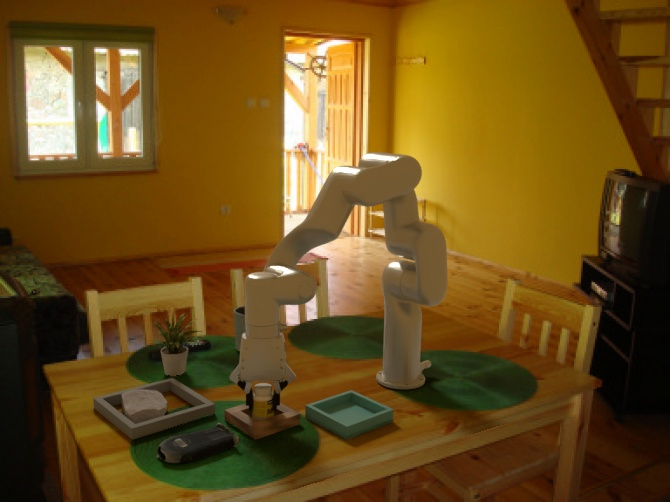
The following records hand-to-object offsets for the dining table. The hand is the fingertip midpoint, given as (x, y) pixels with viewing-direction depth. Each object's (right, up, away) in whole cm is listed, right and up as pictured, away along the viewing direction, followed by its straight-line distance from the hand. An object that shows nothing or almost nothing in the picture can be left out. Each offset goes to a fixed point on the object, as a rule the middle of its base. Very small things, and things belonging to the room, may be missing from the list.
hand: (263, 407), depth 155 cm
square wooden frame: (0, -3, +1) cm, 3 cm away
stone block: (-27, -3, +4) cm, 28 cm away
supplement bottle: (0, -4, +1) cm, 4 cm away
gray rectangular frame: (-25, -2, +5) cm, 26 cm away
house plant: (-27, +2, +27) cm, 38 cm away
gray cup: (-8, +6, +47) cm, 48 cm away
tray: (+19, -3, +3) cm, 20 cm away
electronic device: (-12, -6, -13) cm, 19 cm away
